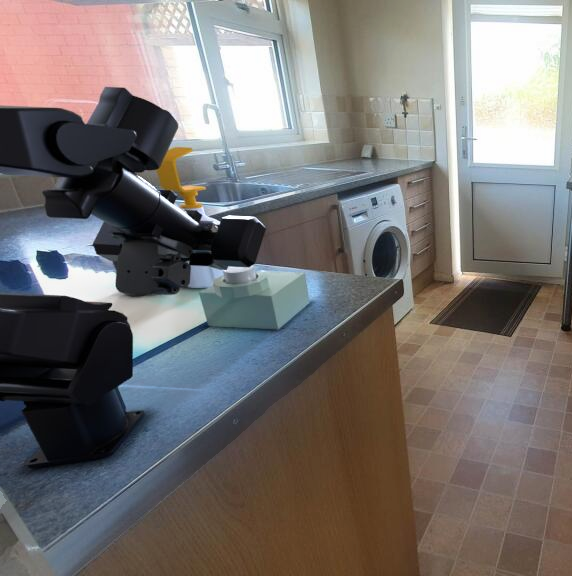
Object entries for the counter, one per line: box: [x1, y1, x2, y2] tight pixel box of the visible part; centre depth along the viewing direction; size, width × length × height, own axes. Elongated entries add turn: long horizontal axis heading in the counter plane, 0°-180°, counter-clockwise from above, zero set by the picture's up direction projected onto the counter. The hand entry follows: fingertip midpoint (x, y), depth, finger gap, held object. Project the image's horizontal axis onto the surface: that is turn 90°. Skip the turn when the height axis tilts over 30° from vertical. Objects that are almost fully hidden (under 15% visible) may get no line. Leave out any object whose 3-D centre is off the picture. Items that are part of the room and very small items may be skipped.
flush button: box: [223, 264, 257, 284], centre depth 62 cm, size 4×4×2 cm
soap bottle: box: [155, 146, 224, 289], centre depth 75 cm, size 9×9×25 cm
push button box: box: [198, 269, 311, 330], centre depth 65 cm, size 11×11×8 cm
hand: (225, 266), depth 59 cm, fingers closed
